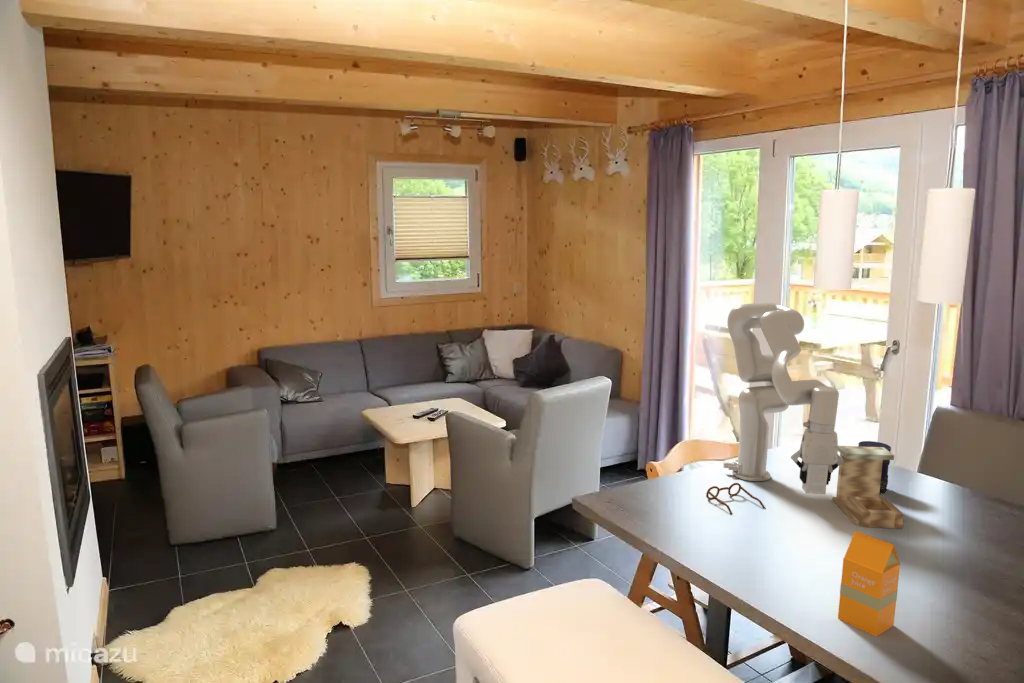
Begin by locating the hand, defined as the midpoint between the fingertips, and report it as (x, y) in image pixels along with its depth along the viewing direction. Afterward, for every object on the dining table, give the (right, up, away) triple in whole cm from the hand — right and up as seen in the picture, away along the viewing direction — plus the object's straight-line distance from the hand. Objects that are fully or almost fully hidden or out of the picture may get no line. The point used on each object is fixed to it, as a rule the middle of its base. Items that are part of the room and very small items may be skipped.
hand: (814, 481), depth 224 cm
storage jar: (+26, -6, +18) cm, 32 cm away
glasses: (-23, -8, +3) cm, 25 cm away
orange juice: (-15, -19, -63) cm, 67 cm away
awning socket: (+15, -9, -3) cm, 18 cm away
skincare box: (0, -3, +1) cm, 3 cm away
